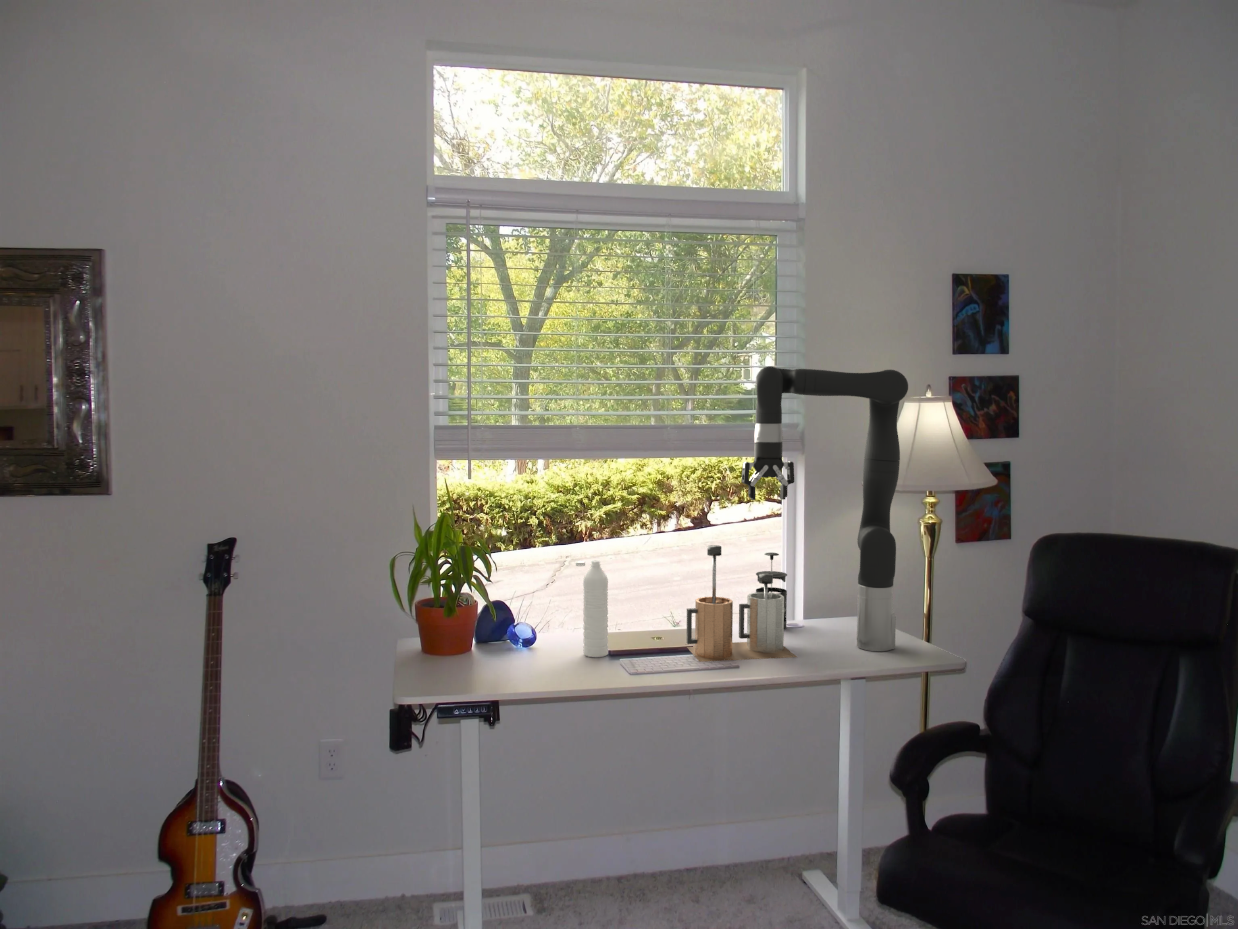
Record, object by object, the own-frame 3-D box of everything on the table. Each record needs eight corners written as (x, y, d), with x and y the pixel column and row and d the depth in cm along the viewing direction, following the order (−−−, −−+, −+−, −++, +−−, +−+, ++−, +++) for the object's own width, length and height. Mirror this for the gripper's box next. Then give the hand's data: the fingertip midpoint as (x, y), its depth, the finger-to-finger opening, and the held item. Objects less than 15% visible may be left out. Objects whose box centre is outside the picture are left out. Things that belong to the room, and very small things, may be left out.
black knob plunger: (722, 604, 230) (723, 544, 229) (729, 610, 223) (730, 548, 222) (698, 605, 229) (698, 544, 228) (704, 611, 222) (705, 548, 221)
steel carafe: (776, 642, 237) (776, 591, 237) (787, 651, 228) (788, 599, 227) (734, 644, 236) (734, 593, 235) (744, 653, 226) (745, 600, 226)
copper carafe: (725, 647, 232) (726, 596, 231) (736, 657, 223) (736, 603, 222) (682, 649, 230) (683, 597, 229) (691, 659, 221) (691, 605, 220)
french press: (793, 634, 250) (794, 555, 249) (761, 636, 249) (762, 556, 247) (778, 624, 262) (779, 549, 261) (748, 626, 260) (749, 549, 259)
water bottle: (602, 649, 235) (602, 558, 233) (611, 656, 229) (611, 561, 227) (571, 653, 231) (571, 560, 230) (580, 659, 225) (580, 564, 224)
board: (776, 644, 240) (776, 640, 239) (797, 661, 224) (797, 657, 224) (684, 649, 235) (684, 644, 235) (699, 666, 220) (699, 661, 220)
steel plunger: (773, 631, 236) (773, 571, 235) (781, 637, 229) (782, 576, 228) (749, 632, 235) (750, 572, 234) (757, 638, 228) (757, 577, 227)
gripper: (788, 439, 242) (787, 497, 243) (739, 440, 240) (738, 498, 241) (798, 440, 234) (797, 500, 235) (747, 441, 232) (746, 501, 233)
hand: (767, 499), depth 238 cm, fingers open, 8 cm apart
